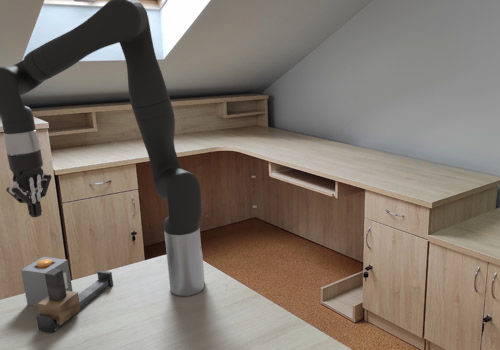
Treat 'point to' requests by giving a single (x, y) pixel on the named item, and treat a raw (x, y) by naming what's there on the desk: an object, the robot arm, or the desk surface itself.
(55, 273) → the carriage
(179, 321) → the desk surface
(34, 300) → the button housing
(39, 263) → the button
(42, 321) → the rail
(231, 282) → the desk surface
